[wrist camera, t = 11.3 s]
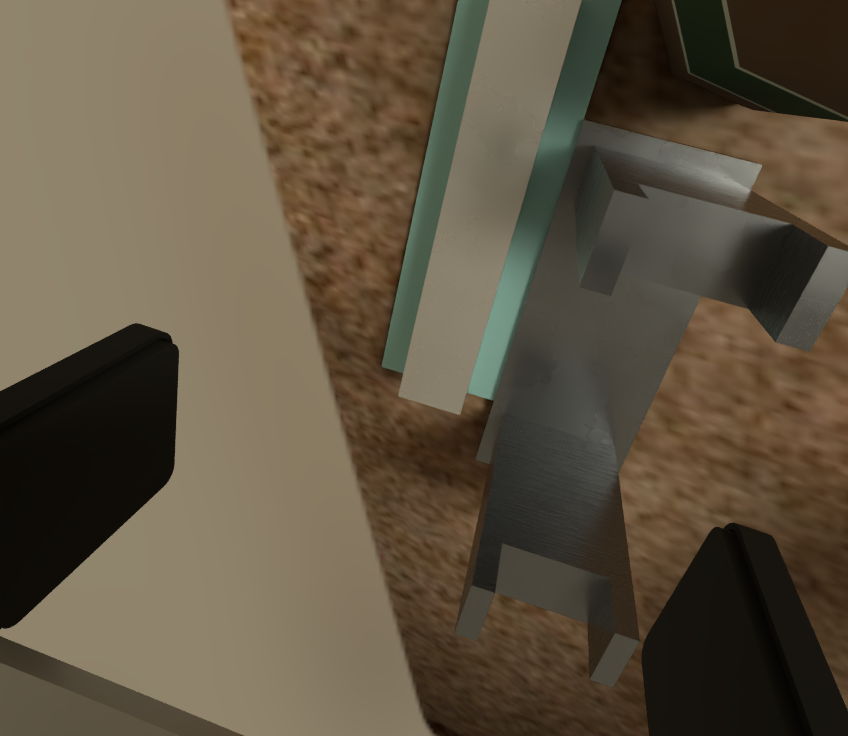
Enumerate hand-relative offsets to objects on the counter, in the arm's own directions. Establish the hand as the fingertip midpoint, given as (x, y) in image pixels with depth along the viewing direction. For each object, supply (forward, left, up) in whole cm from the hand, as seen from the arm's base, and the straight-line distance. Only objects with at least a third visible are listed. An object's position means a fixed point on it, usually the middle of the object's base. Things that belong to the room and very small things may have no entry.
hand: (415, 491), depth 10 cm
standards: (-5, +3, -19) cm, 20 cm away
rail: (+1, -1, -19) cm, 19 cm away
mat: (+2, -1, -19) cm, 19 cm away
